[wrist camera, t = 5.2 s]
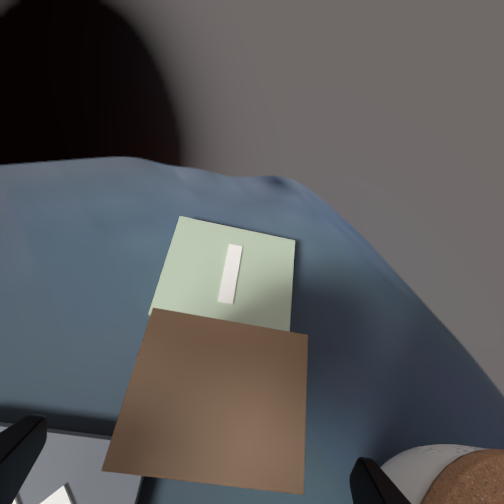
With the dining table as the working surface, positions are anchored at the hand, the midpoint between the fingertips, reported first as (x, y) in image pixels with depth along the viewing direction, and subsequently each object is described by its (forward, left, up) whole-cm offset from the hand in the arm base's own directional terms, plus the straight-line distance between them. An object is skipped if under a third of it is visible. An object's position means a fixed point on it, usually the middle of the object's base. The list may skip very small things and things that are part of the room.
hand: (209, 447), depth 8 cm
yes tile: (+7, +5, -9) cm, 13 cm away
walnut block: (+1, +1, -9) cm, 9 cm away
